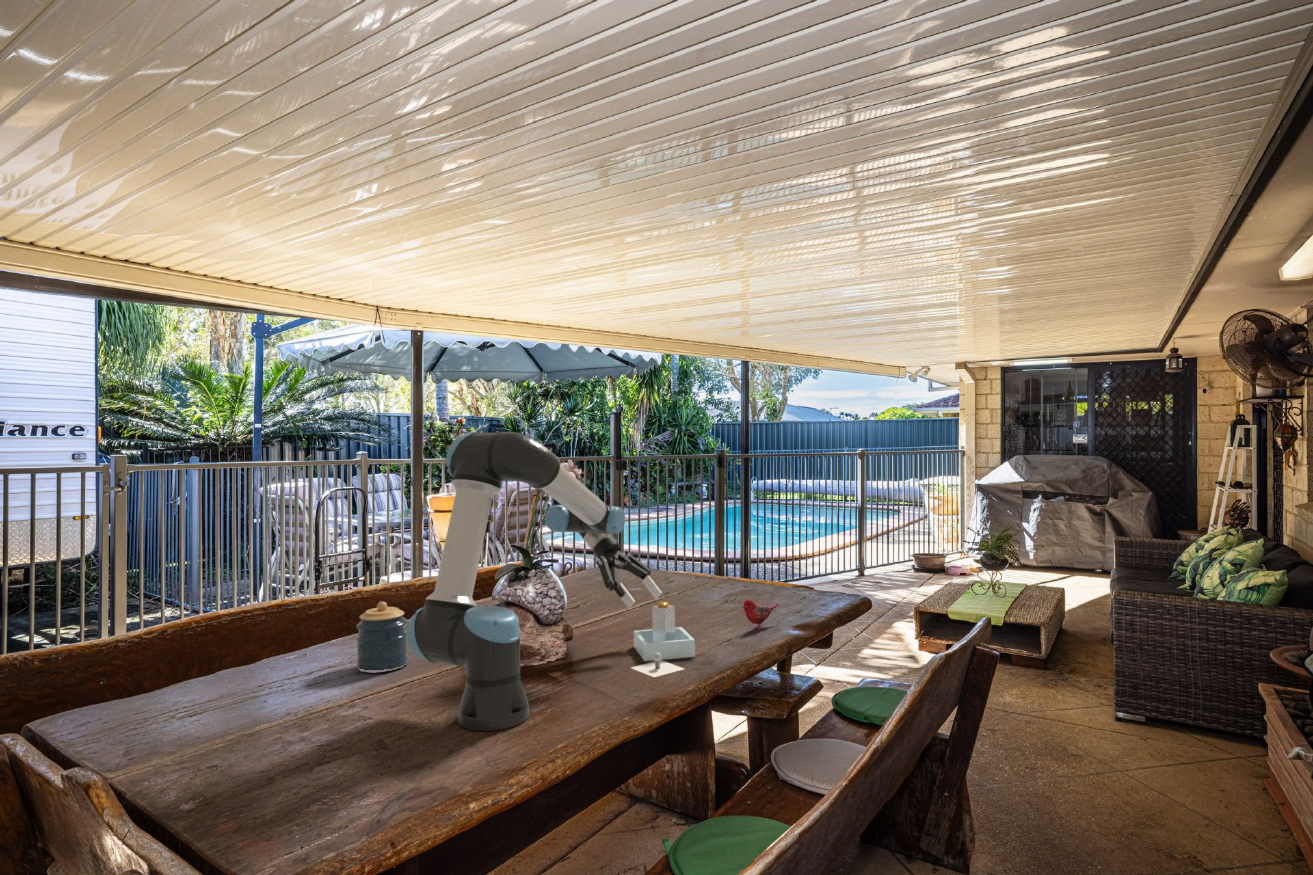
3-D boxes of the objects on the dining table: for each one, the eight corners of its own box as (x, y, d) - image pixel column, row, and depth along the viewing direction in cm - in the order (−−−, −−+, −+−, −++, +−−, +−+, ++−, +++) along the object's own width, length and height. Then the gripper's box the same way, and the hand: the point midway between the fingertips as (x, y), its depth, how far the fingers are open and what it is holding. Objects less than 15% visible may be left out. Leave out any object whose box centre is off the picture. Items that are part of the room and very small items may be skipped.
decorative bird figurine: (739, 632, 225) (739, 599, 225) (775, 621, 237) (775, 591, 237) (746, 633, 223) (746, 601, 223) (782, 623, 235) (782, 592, 235)
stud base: (654, 683, 179) (653, 660, 179) (630, 673, 187) (629, 652, 187) (685, 674, 185) (684, 653, 185) (660, 665, 193) (660, 644, 193)
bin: (644, 666, 192) (643, 643, 192) (634, 651, 206) (633, 630, 206) (695, 662, 196) (694, 639, 196) (681, 647, 209) (681, 627, 209)
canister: (364, 677, 188) (363, 609, 188) (351, 665, 198) (350, 601, 198) (414, 667, 195) (413, 602, 195) (400, 656, 206) (399, 594, 206)
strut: (665, 656, 198) (664, 605, 198) (653, 653, 200) (652, 603, 200) (675, 652, 201) (674, 602, 201) (662, 650, 204) (661, 600, 204)
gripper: (620, 546, 225) (661, 600, 216) (568, 557, 204) (611, 617, 195) (634, 530, 222) (676, 584, 214) (582, 539, 201) (627, 599, 193)
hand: (645, 600), depth 204 cm, fingers open, 13 cm apart
